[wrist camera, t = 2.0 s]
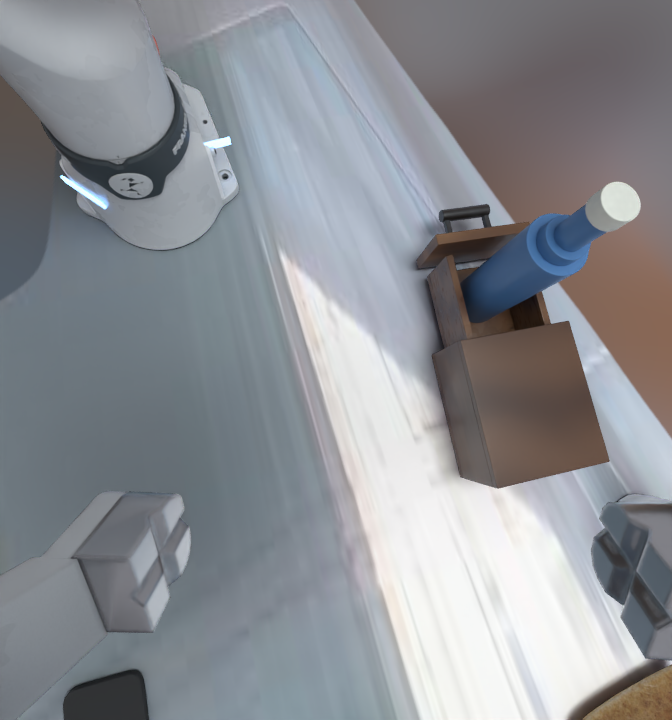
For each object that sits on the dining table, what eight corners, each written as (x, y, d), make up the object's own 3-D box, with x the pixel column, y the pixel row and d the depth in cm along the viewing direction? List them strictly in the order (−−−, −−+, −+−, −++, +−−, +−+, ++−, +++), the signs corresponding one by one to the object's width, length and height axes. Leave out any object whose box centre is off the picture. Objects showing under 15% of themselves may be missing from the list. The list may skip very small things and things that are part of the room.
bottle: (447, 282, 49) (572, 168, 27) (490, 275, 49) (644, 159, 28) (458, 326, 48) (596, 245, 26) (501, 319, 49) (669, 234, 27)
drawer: (408, 229, 50) (426, 199, 44) (490, 218, 52) (519, 188, 45) (441, 367, 48) (466, 357, 41) (526, 351, 49) (563, 339, 43)
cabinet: (431, 355, 49) (460, 340, 40) (522, 338, 51) (569, 320, 42) (460, 477, 47) (497, 488, 38) (554, 455, 49) (610, 461, 40)
